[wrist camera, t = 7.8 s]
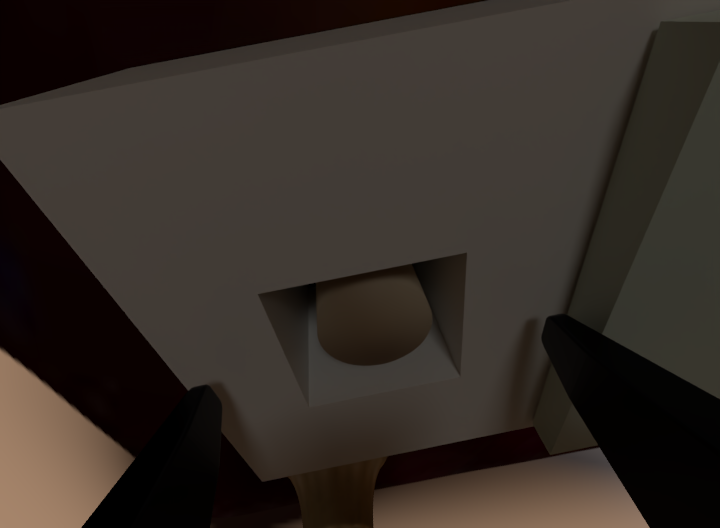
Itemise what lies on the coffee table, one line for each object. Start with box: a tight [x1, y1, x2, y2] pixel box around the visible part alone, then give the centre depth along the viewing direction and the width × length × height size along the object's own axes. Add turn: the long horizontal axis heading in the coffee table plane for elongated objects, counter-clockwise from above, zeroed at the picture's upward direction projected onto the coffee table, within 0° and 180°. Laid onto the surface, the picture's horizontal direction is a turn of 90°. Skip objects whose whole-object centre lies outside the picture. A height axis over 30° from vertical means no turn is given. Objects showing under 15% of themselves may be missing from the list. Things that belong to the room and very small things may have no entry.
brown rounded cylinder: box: [316, 264, 432, 366], centre depth 12 cm, size 3×3×6 cm
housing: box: [0, 0, 720, 482], centre depth 12 cm, size 22×14×6 cm, turn 99°
